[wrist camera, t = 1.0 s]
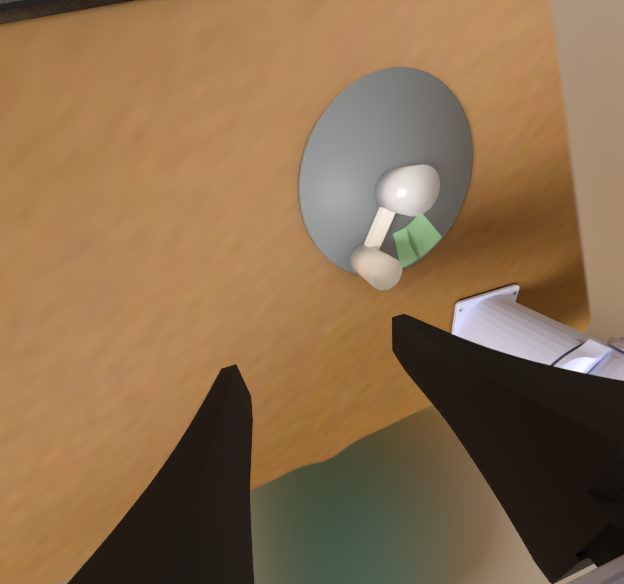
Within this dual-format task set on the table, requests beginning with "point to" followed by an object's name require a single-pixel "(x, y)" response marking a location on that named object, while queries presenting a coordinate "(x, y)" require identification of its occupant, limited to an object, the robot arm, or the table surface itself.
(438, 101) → the dial plate
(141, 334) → the table surface
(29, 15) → the phone
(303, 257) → the table surface
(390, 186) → the tuning lever
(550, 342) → the robot arm
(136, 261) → the table surface
